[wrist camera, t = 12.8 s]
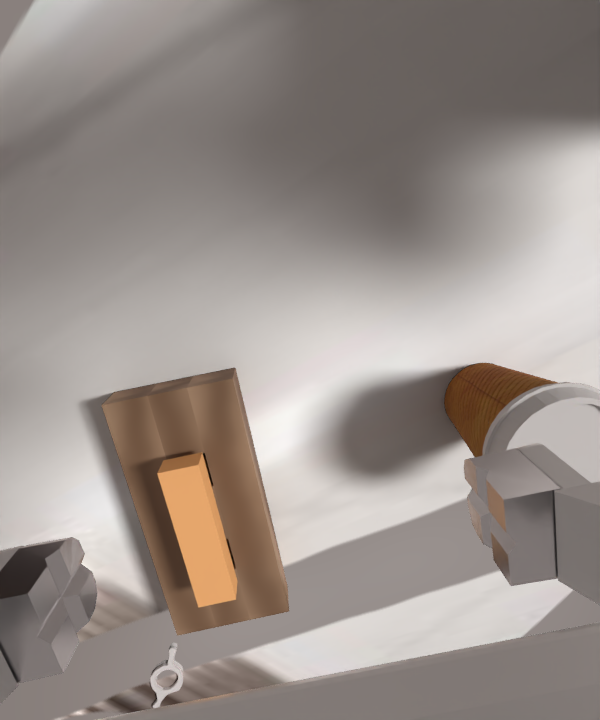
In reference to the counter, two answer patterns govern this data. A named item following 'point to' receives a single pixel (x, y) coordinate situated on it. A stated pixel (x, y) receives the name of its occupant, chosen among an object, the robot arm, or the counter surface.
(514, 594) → the counter surface
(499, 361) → the counter surface
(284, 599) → the rail
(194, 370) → the counter surface
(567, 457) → the disposable coffee cup
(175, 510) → the orange piece
